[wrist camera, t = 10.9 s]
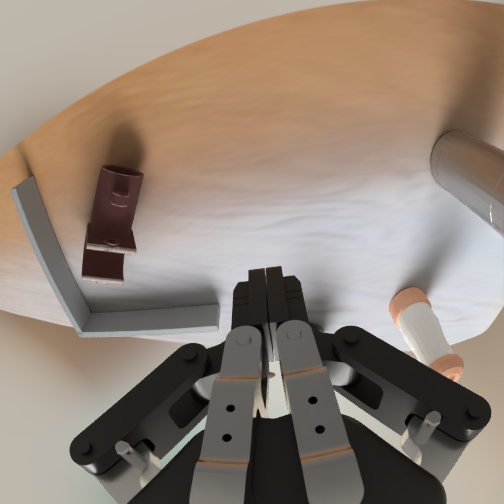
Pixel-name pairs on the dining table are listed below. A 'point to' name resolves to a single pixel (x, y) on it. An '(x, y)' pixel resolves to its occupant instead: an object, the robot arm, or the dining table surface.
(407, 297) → the pepper shaker
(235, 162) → the dining table surface
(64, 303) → the angled bar
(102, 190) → the bracket
